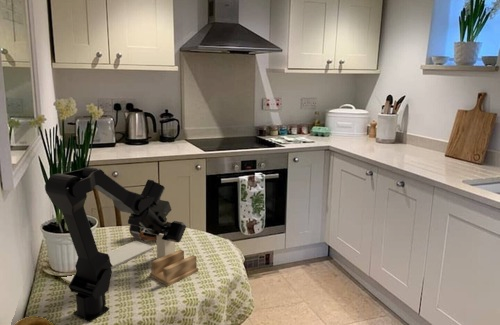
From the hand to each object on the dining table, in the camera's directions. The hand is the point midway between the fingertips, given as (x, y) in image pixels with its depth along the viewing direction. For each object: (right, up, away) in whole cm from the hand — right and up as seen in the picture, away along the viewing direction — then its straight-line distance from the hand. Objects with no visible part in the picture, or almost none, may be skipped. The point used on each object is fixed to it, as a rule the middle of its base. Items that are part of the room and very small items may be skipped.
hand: (168, 237), depth 136 cm
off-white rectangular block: (-1, -7, 0) cm, 7 cm away
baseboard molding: (-20, -8, -2) cm, 22 cm away
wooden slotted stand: (+4, -10, -9) cm, 14 cm away
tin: (-10, -4, +16) cm, 19 cm away
